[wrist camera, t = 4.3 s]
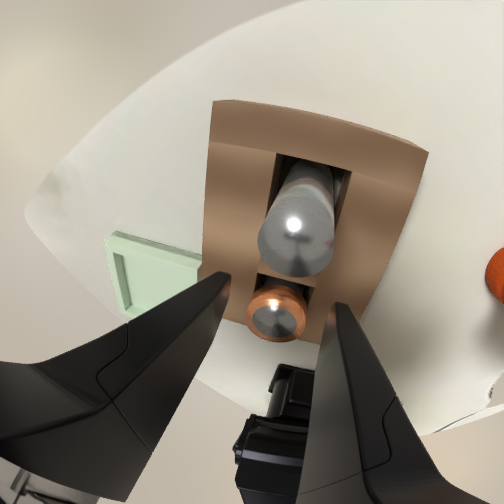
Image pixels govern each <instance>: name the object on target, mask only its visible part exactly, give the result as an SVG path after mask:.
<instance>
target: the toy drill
mask: <svg viewBox="0 0 504 504" xmlns="http://www.w3.org/2000/svg"><path fill="white" fill-rule="evenodd" d="M486 279H487V283H488V285H489V288H490V290H491V291H492V293H493V294H494V295H495V296H496V297H497V298H498V299H499V300H500V301H501V302H502V303H503V304H504V248H502V249H500V250H499V251H498V252H497V253H496V254H495V255H494V256H493V257H492V259H491V260H490V262H489V264H488V266H487V269H486Z"/></svg>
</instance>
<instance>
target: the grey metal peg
mask: <svg viewBox="0 0 504 504" xmlns="http://www.w3.org/2000/svg"><path fill="white" fill-rule="evenodd" d="M257 244H258V250H259V252H260V255H261V257H262V258H263V260H264V261H265V262H266V264H267V265H268V266H269V267H270V268H272V269H273V270H275V271H276V272H278V273H280V274H282V275H285V276H289V277H295V278H302V277H308V276H312V275H315V274H317V273H319V272H320V271H322V270H323V269H324V268H325V267H326V266H327V265H328V264H329V262H330V261H331V259H332V257H333V253H334V196H333V177H332V173H331V171H330V169H329V167H328V166H327V165H326V164H323V163H319V162H315V161H311V160H307V159H301V160H299V161H298V162H296V163H295V164H294V165H293V166H292V168H291V170H290V171H289V173H288V175H287V177H286V179H285V181H284V183H283V185H282V187H281V189H280V191H279V193H278V195H277V197H276V199H275V201H274V203H273V205H272V206H271V208H270V210H269V212H268V214H267V216H266V218H265V220H264V222H263V224H262V226H261V228H260V230H259V233H258V239H257Z"/></svg>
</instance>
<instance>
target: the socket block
mask: <svg viewBox="0 0 504 504" xmlns="http://www.w3.org/2000/svg"><path fill="white" fill-rule="evenodd" d="M428 154H429V152H427V151H425V150H424V149H422V148H420V147H419V146H417V145H415V144H414V143H412V142H410V141H407V140H404V139H402V138H399V137H396V136H393V135H390V134H387V133H384V132H381V131H378V130H375V129H372V128H369V127H365V126H362V125H359V124H355V123H352V122H348V121H344V120H341V119H337V118H333V117H329V116H325V115H320V114H316V113H312V112H307V111H302V110H297V109H292V108H287V107H281V106H275V105H269V104H263V103H256V102H248V101H240V100H220V101H213V106H212V115H211V125H210V136H209V147H208V159H207V172H206V186H205V202H204V220H203V243H202V275H201V280H202V279H204V278H206V277H208V276H209V275H211V274H213V273H215V272H216V271H223V272H226V273H230V274H231V276H232V279H231V288H230V296H229V300H228V303H227V306H226V308H225V311H224V314H223V316H222V318H224V319H227V320H230V321H234V322H237V323H240V324H244V325H247V324H246V321H245V313H246V310H247V308H248V305H249V303H250V300H251V298H252V296H253V294H254V293H255V292H256V291H257V290H258V289H260V288H261V287H263V286H261V285H260V284H261V279H262V274H265V275H269V276H273V277H277V278H280V279H284V280H288V281H292V282H296V283H300V284H304V285H307V286H309V288H308V291H307V294H306V297H303V296H302V297H303V298H304V300H305V302H306V304H307V315H306V321H305V328H304V331H303V333H302V334H301V335H300V336H299V337H298V338H296V339H300V340H304V341H308V342H312V343H317V344H321V340H322V335H323V330H324V325H325V322H326V319H327V317H328V315H329V313H330V310H331V308H332V306H333V304H334V303H335V302H336V301H337V302H341V303H345V304H348V305H349V307H350V308H351V310H352V312H353V314H354V315H355V317H356V319H357V321H359V320H360V318H361V316H362V314H363V312H364V310H365V308H366V307H367V305H368V303H369V301H370V299H371V297H372V295H373V293H374V291H375V289H376V287H377V285H378V283H379V281H380V279H381V277H382V275H383V273H384V270H385V268H386V266H387V264H388V262H389V260H390V257H391V255H392V253H393V250H394V248H395V246H396V244H397V241H398V239H399V236H400V234H401V232H402V229H403V227H404V224H405V222H406V219H407V216H408V214H409V211H410V208H411V206H412V203H413V200H414V197H415V195H416V192H417V189H418V186H419V183H420V180H421V177H422V174H423V170H424V167H425V164H426V160H427V157H428ZM283 155H289V156H294V157H298V158H302V159H307V160H311V161H315V162H319V163H323V164H327V165H331V166H335V167H338V168H342V169H345V172H344V176H343V180H342V184H341V187H340V191H339V195H338V198H337V202H336V206H335V209H334V253H333V257H332V259H331V261H330V262H329V264H328V265H327V266H326V267H325V268H324V269H323V270H322V271H320V272H319V273H317V274H315V275H312V276H308V277H302V278H295V277H289V276H285V275H282V274H280V273H278V272H276V271H275V270H273V269H272V268H270V267H269V266H268V265H267V264H266V262H265V261H264V260H263V258H262V257H261V255H260V252H259V250H258V244H257V239H258V233H259V230H260V228H261V226H262V224H263V222H264V220H265V218H266V216H267V214H268V212H269V210H270V208H271V206H272V205H273V203H274V201H275V199H276V193H277V188H278V182H279V177H280V171H281V166H282V160H283Z"/></svg>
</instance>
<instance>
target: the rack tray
mask: <svg viewBox="0 0 504 504" xmlns="http://www.w3.org/2000/svg"><path fill="white" fill-rule="evenodd" d="M104 246H105V251H106V256H107V261H108V266H109V271H110V275H111V279H112V284H113V288H114V292H115V296H116V300H117V304H118V307H119V311H120V314H122V315H124V316H127V317H129V318H131V319H134V318H136V317H137V316H139V315H141V314H143V313H144V312H146V311H148V310H150V309H151V308H153V307H155V306H157V305H158V304H160V303H162V302H164V301H165V300H167V299H169V298H171V297H172V296H174V295H176V294H178V293H179V292H181V291H183V290H185V289H187V288H188V287H190V286H192V285H194V284H195V283H197V282H199V281H201V275H202V255H199V254H196V253H192V252H189V251H185V250H181V249H178V248H174V247H171V246H167V245H163V244H160V243H156V242H153V241H149V240H146V239H142V238H139V237H135V236H132V235H128V234H125V233H121V232H118V231H115V232H114V233H113V234H111V235H110V236H109V237H108V238H106V239H105V240H104Z"/></svg>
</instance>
